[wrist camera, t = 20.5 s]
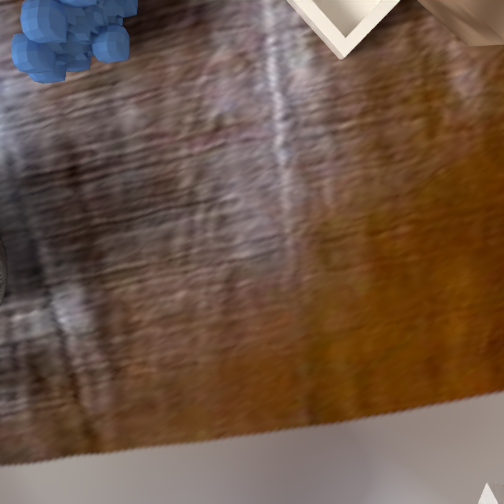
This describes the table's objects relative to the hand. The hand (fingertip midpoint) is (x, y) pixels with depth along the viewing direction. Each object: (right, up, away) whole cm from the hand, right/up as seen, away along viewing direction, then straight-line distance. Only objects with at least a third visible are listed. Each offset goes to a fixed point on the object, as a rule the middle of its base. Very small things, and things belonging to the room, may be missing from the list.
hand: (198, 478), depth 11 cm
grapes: (-10, +24, +29) cm, 39 cm away
